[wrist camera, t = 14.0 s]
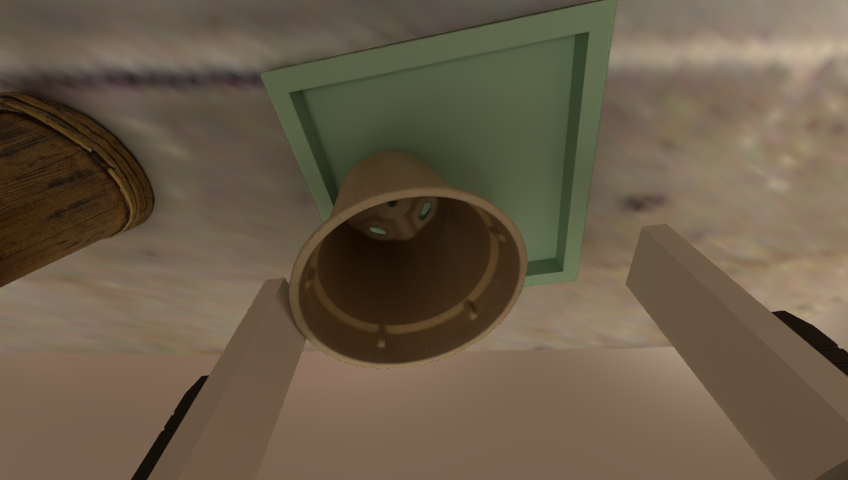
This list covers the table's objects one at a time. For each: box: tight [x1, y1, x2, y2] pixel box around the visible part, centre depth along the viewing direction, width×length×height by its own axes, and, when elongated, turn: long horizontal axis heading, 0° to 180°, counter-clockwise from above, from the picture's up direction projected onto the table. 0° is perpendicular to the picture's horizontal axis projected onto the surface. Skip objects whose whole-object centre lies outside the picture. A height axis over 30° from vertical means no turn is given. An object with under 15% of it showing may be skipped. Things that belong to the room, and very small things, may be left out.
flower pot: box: [289, 151, 528, 369], centre depth 16 cm, size 9×9×9 cm
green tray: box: [260, 0, 617, 287], centre depth 19 cm, size 16×16×2 cm
